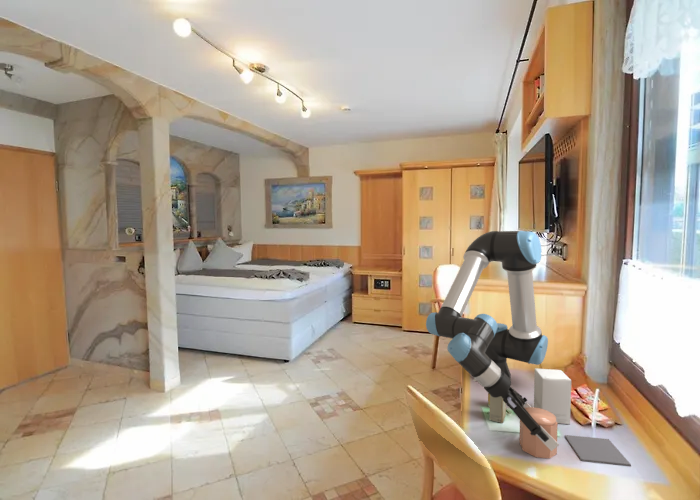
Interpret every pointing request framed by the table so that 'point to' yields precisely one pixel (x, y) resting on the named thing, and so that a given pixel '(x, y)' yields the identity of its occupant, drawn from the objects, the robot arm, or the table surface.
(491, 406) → the skincare box
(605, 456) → the rubber mat
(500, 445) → the table surface
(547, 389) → the supplement box
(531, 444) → the peach round canister
